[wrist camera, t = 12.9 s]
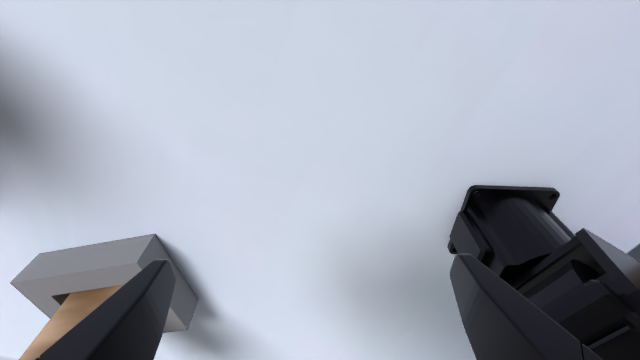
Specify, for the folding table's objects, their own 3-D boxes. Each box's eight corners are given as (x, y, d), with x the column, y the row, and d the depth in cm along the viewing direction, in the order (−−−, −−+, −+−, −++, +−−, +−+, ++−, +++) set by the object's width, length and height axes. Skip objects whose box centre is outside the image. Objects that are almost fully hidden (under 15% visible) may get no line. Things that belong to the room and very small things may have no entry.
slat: (140, 261, 27) (20, 454, 16) (157, 284, 29) (58, 473, 18) (88, 270, 28) (-62, 462, 17) (108, 292, 29) (-18, 480, 18)
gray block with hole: (154, 233, 25) (136, 262, 23) (198, 299, 30) (187, 329, 27) (39, 253, 27) (9, 283, 24) (98, 314, 31) (78, 344, 29)
